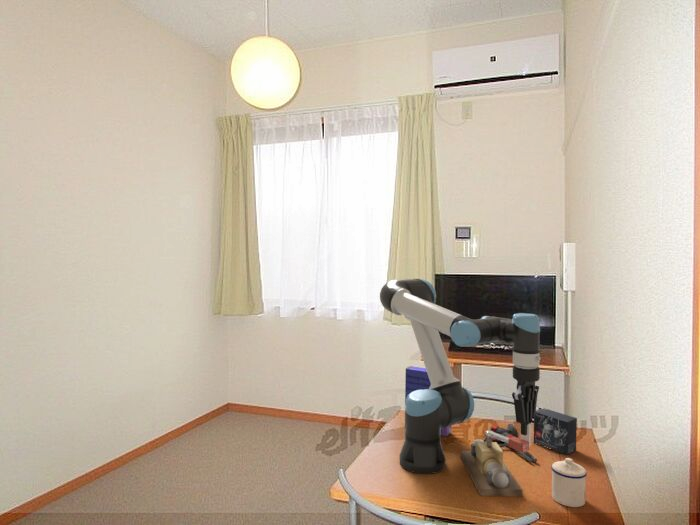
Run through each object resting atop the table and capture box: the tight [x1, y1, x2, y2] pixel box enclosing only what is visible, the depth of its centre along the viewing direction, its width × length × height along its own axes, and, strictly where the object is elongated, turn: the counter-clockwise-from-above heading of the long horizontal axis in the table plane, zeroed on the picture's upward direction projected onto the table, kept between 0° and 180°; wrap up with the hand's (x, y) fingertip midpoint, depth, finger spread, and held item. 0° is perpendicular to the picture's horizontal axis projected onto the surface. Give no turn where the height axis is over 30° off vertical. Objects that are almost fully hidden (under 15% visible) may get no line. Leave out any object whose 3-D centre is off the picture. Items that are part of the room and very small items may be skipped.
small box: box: [533, 407, 578, 456], centre depth 170 cm, size 13×7×12 cm, turn 37°
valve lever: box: [484, 429, 530, 453], centre depth 143 cm, size 14×3×2 cm, turn 36°
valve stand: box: [460, 438, 523, 497], centre depth 148 cm, size 12×26×12 cm, turn 179°
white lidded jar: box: [551, 457, 588, 508], centre depth 134 cm, size 12×9×12 cm
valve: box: [482, 423, 538, 463], centre depth 168 cm, size 6×26×15 cm
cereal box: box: [404, 366, 452, 438], centre depth 185 cm, size 17×5×24 cm, turn 59°
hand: (525, 444), depth 140 cm, fingers closed
